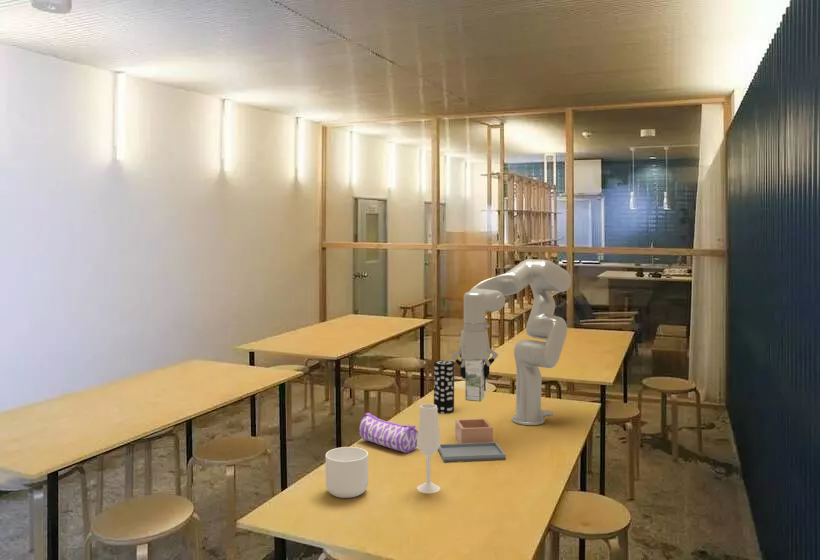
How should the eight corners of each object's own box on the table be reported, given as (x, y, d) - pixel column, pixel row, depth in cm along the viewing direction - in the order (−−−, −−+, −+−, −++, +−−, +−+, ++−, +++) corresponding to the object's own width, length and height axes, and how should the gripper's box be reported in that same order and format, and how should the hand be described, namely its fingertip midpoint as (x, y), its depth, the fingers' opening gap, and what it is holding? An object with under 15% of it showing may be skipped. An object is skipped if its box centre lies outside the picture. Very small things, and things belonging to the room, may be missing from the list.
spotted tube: (452, 414, 257) (452, 365, 256) (432, 413, 259) (432, 364, 258) (455, 408, 266) (455, 360, 264) (435, 407, 267) (435, 360, 266)
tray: (496, 447, 218) (496, 442, 218) (505, 459, 206) (505, 454, 206) (438, 449, 216) (438, 444, 215) (444, 462, 204) (444, 456, 204)
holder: (485, 434, 231) (485, 418, 231) (492, 444, 220) (492, 427, 220) (455, 435, 230) (455, 419, 229) (461, 446, 219) (461, 428, 219)
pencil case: (422, 449, 216) (422, 422, 215) (405, 457, 209) (405, 428, 208) (373, 436, 230) (373, 410, 229) (355, 443, 223) (355, 416, 222)
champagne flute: (443, 491, 181) (443, 408, 179) (420, 494, 179) (420, 410, 177) (435, 482, 187) (436, 402, 185) (413, 485, 185) (413, 403, 183)
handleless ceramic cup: (341, 505, 172) (341, 464, 171) (317, 491, 181) (317, 452, 180) (376, 494, 179) (376, 454, 179) (352, 481, 189) (352, 444, 188)
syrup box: (484, 397, 226) (484, 357, 225) (481, 402, 221) (480, 360, 219) (469, 396, 228) (468, 356, 227) (464, 400, 223) (464, 359, 221)
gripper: (496, 324, 227) (496, 374, 228) (448, 326, 225) (448, 375, 226) (501, 328, 219) (501, 379, 221) (451, 329, 217) (452, 381, 219)
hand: (474, 377), depth 224 cm, fingers closed on syrup box, 7 cm apart
